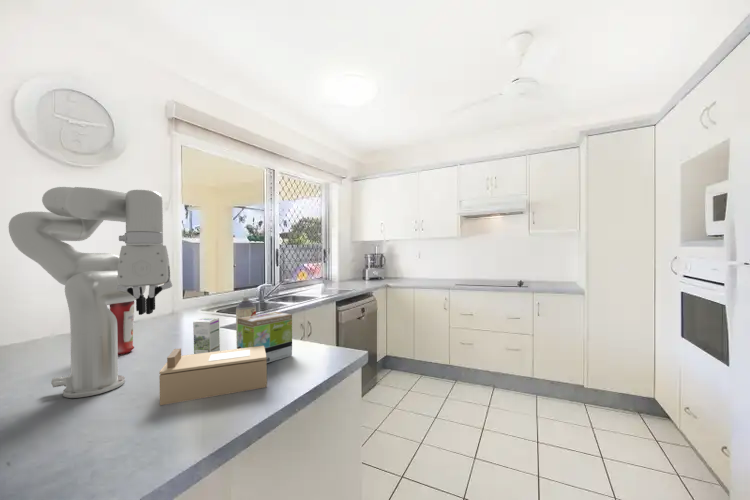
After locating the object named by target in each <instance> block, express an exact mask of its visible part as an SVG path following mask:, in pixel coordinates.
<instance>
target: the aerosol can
mask: <svg viewBox="0 0 750 500" xmlns="http://www.w3.org/2000/svg"><path fill="white" fill-rule="evenodd" d="M242 298H243V299H242V301H240V302H239V303H238V305H236V308H235V323H236V325H235V326H236V327H235V329H236V330H235V332H236V333H235V334H236V336H235V337H236V340H237V338H238V337H237V335H238V318H242V317H248V316H254V315H257V306H256V304H255V303H254V302H252V301H251V300H250V299H249V296H243V297H242Z"/></svg>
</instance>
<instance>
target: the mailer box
mask: <svg viewBox="0 0 750 500" xmlns="http://www.w3.org/2000/svg"><path fill="white" fill-rule="evenodd" d="M267 364H268V363H267V362H266V360H259V361H252V362H244V363H237V364H230V365H223V366H216V367H209V368H201V369H194V370H187V371H180V372H173V373H165V374H159V406H163V405H169V404H177V403H181V402H187V401H194V400H198V399H204V398H212V397H215V396H217V397H218V396H223V395H228V394H235V393H241V392H245V391H252V390H257V389H264V388H267V387H268V373H267V371H268V370H267V368H268V367H267V366H268V365H267Z"/></svg>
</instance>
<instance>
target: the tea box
mask: <svg viewBox="0 0 750 500" xmlns="http://www.w3.org/2000/svg"><path fill="white" fill-rule="evenodd" d="M237 337H238V338H237V339H236V349H240V348H248V347H256V346H264V347H265V352H266V362H267V364H268V363H272V362H275V361H278V360H283V359H285V358H290V357H292V355H293V315H292V314H291V313H285V312H280V311H274V312H267V313H261V314H256V315H254V316H248V317H242V318H238V335H237Z"/></svg>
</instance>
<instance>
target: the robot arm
mask: <svg viewBox="0 0 750 500" xmlns="http://www.w3.org/2000/svg"><path fill="white" fill-rule="evenodd" d="M41 201H42V205H43V206H44V208H45V209H46V210H47V211H25V212H21V213H17V214H15V215H14V216H12V217H11V218H10V220H9V223H8V233H9V237H10V239H11V241H12V243H13V244H14V246H15V247H16V248H17V250H18V251H19V252H21V253H22V254H23V255H25V256H26V257H27V258H29V259H30V260H31V261H34V262H35V263H37V264H38V265H39V266H40V267H41V268H43V270H45V271H46V273H48V274H49V275H50V276H51V277H52V278H53V279H54V280H55V281H57V283H59V284H61V285H63V286H64V293H65V295H64V296H65V299H66V303H67V307H68V311H69V322H70V323H69V325H70V329H69V330H70V331H69V332H70V374H68V375H67V376H58V377H53V378H52V379H51V386H52V388H58V387H63V386H64V387H65V388H64V389H63V391H62V396H63V397H64V398H67V399H69V398H70V399H77V398H78V399H79V398H86V397H92V396H95V395H100V394H103V393H107V392H110V391H113V390H115V389H117V388H119V387H121V386H123V385H124V384H125V382H126V377H125V376H124V375H120V374H119V364H118V362H119V361H118V360H119V358H118V356H119V355H118V339H117V319H116V317H115V315H114V314H113V313H112V312H111V311H110V308H109V307H108V306H110V305H111V304H117V303H124V302H130V301H134V302H135V310H136V312H138V315H140V316H141V315H144V314H146V315H150V314H153V312H154V310H156V297H157V295H159V294H160V293H161V292H163V291H164V290H167V289H170V288H172V287H173V284H172V281H171V268H170V259H169V254H168V252H169V251H168V249H167V245H164V233H163V232H164V231H163V230H164V228H163V225H164V221H163V220H164V219H163V216H164V215H163V213H164V212H163V196H162V195H161V193H159V192H157V191H154V190H149V189H147V190H146V189H131V190H128V191H127V192H126V193H125V192H122V191H121V192H120V191H116V190H110V189H103V188H94V187H82V186H75V187H74V186H73V187H71V186H57V187H52V188H50V189H48V190H46V191H45V193H43V195H42V198H41ZM105 221H110V222H121V223H125V232H124V235H118V241H119V242H124V244H125V245H121V248H120V251H119V255H116V254H114V253H106V252H80V251H78V250H77V249H76V248H75V247H74V246H72V245H71V244H69V243H68V242H82V241H85V240H87V239H89V238H90V237H91V236H92V235H93V234H94V232H95V231H96V230H97V229H98V228H99V227H100V225H101V224H102V223H103V222H105ZM147 286H148V294H147V298H146V297H145V296H144V294H145V292H146V290H147V289H146V287H147Z"/></svg>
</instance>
